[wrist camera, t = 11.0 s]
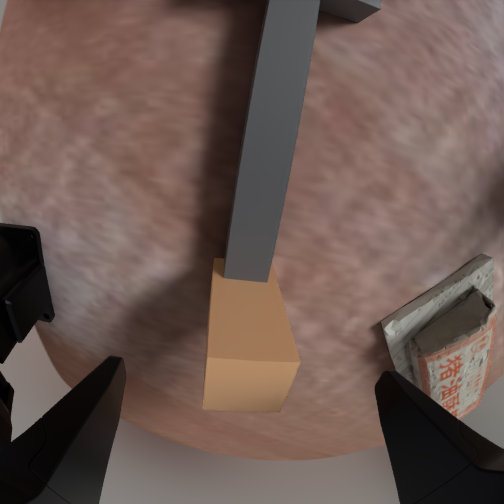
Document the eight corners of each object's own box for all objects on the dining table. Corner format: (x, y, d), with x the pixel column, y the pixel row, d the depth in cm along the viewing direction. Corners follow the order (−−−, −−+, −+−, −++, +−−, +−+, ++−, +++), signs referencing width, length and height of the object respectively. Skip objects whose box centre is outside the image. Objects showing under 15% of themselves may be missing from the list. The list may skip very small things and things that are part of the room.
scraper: (173, 301, 16) (150, 402, 10) (218, -26, 9) (214, -114, 2) (295, 312, 17) (326, 410, 11) (359, 5, 10) (440, -46, 3)
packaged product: (496, 396, 20) (421, 447, 21) (476, 368, 24) (406, 414, 26) (522, 278, 12) (406, 366, 14) (480, 246, 17) (375, 316, 18)
